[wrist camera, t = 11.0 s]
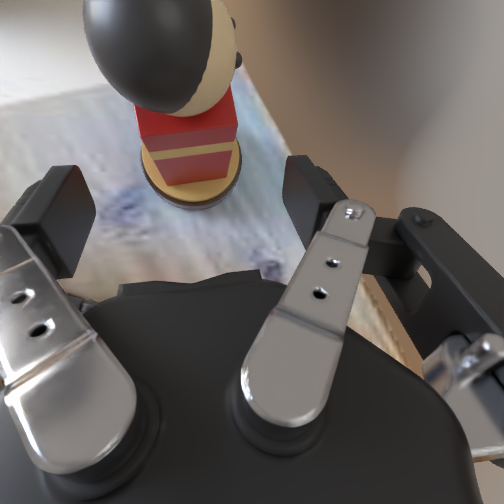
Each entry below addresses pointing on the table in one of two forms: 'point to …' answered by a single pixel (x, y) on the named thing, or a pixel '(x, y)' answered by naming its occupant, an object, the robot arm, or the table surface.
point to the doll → (173, 86)
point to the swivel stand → (200, 204)
